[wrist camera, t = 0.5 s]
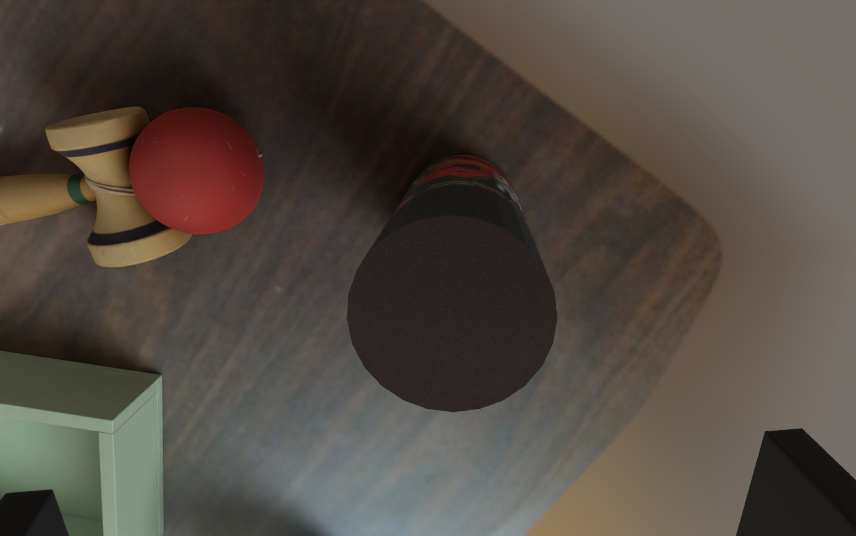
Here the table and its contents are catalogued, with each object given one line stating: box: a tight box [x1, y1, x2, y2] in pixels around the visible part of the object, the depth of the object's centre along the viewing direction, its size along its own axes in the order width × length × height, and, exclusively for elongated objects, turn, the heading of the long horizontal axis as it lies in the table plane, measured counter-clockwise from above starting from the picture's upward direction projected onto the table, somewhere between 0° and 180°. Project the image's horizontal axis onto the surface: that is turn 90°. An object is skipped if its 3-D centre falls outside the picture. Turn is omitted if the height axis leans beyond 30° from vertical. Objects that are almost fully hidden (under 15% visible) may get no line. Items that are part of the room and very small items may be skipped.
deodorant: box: [347, 155, 557, 412], centre depth 24 cm, size 6×6×15 cm
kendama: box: [0, 107, 264, 267], centre depth 30 cm, size 8×6×18 cm
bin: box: [0, 351, 164, 536], centre depth 35 cm, size 12×12×5 cm
